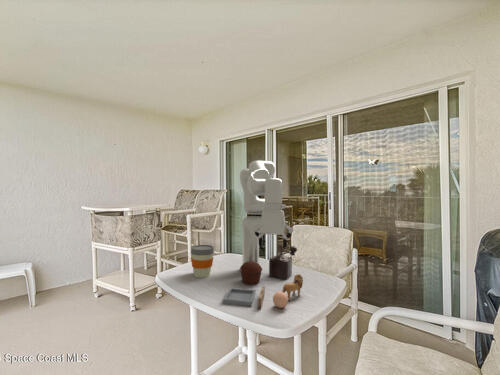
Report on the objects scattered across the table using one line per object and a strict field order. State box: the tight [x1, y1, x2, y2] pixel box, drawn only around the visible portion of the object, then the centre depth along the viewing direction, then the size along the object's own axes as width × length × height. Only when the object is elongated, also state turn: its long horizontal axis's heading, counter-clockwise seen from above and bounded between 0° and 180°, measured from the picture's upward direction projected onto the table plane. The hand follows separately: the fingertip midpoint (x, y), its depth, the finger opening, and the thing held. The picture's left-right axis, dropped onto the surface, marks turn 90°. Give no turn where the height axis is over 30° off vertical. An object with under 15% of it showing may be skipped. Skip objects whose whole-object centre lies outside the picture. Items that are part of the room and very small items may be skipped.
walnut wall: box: [257, 285, 266, 310], centre depth 102 cm, size 13×1×4 cm, turn 171°
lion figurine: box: [281, 273, 304, 301], centre depth 107 cm, size 15×5×9 cm, turn 137°
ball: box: [272, 291, 289, 309], centre depth 98 cm, size 6×6×6 cm
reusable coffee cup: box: [190, 244, 215, 279], centre depth 133 cm, size 13×13×15 cm
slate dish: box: [222, 287, 257, 307], centre depth 105 cm, size 12×12×2 cm
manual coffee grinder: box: [268, 245, 298, 280], centre depth 133 cm, size 16×11×18 cm
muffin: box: [239, 261, 263, 286], centre depth 124 cm, size 12×11×10 cm
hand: (272, 248), depth 102 cm, fingers open, 9 cm apart
